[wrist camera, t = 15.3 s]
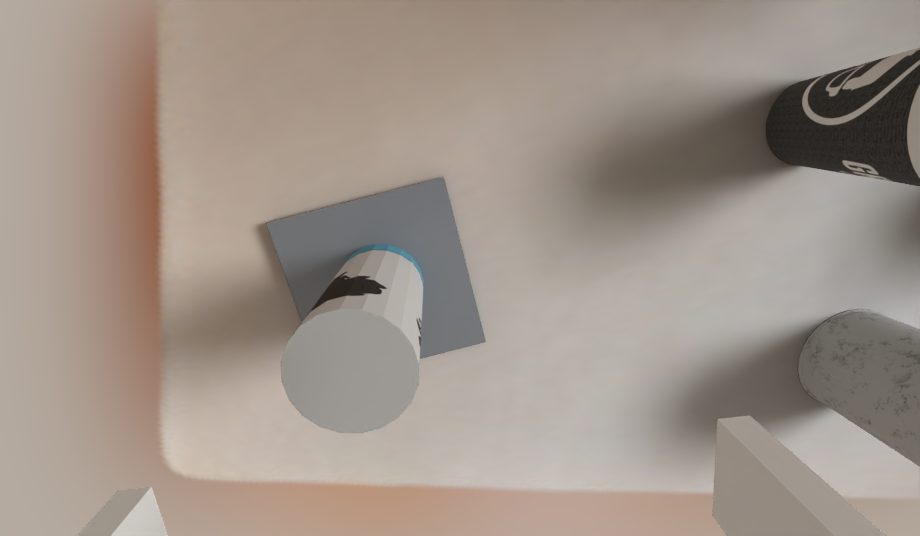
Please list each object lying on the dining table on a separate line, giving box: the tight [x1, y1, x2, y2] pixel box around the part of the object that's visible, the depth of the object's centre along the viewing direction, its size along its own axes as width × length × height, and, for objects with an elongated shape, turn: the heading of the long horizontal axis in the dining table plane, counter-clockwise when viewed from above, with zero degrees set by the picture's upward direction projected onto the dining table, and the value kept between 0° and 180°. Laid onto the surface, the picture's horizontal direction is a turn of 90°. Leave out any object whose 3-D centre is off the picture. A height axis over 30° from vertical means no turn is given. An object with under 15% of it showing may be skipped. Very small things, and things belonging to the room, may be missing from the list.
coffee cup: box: [766, 48, 920, 186], centre depth 30 cm, size 10×10×15 cm
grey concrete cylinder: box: [798, 309, 920, 466], centre depth 37 cm, size 10×10×12 cm
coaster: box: [266, 177, 485, 359], centre depth 38 cm, size 14×14×1 cm
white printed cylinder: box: [281, 244, 424, 433], centre depth 30 cm, size 7×7×15 cm
